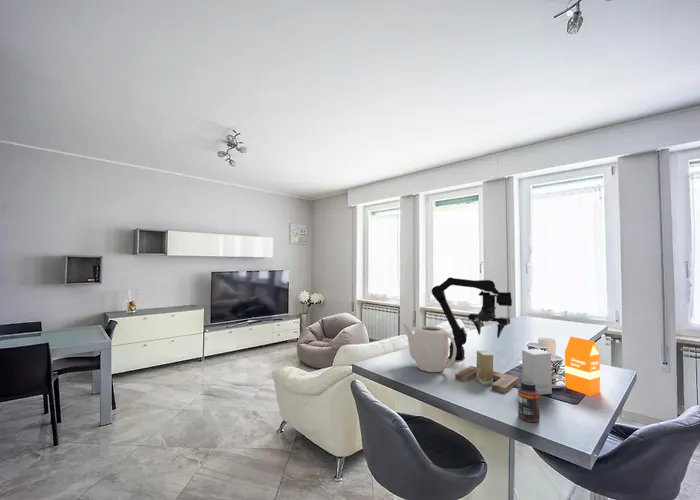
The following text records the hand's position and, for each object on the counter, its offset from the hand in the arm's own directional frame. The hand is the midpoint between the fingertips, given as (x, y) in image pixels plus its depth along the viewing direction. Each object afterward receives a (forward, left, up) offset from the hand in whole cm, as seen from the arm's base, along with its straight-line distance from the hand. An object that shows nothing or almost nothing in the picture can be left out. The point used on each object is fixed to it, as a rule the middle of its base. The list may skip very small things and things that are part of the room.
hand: (488, 336), depth 156 cm
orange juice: (+39, -7, -13) cm, 42 cm away
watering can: (-16, -31, -13) cm, 37 cm away
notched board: (+9, -26, -13) cm, 30 cm away
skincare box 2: (+27, -23, -13) cm, 38 cm away
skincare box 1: (+9, -28, -13) cm, 33 cm away
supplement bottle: (+31, -49, -13) cm, 59 cm away
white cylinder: (+24, +6, -13) cm, 28 cm away
